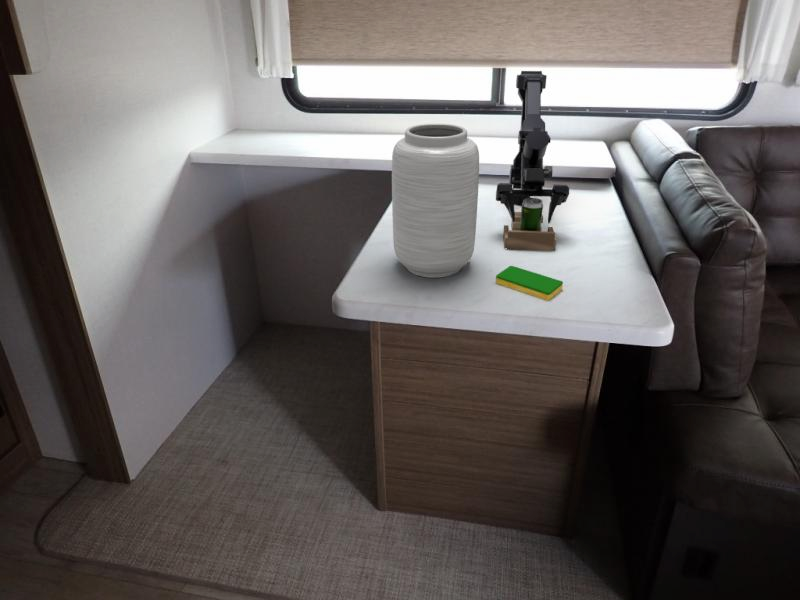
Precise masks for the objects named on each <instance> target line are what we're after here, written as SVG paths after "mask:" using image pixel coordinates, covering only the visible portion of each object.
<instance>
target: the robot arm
mask: <svg viewBox="0 0 800 600" xmlns="http://www.w3.org/2000/svg"><path fill="white" fill-rule="evenodd" d="M547 78H548V77H547V74H544V73H543V72H542V70H521V72H520V74H517V75H516V79H515V81H516V82H515V83H516V84H515V87H516V89H517V95H518V97H519V99H520V100H521V101H520V102H521V103H522V104H521V116H520V117H521V119H520V130H518V135H517V136H518V137H517V144H518V152H517V154H516V155H515V157H514V159H513V162H512V165H510V169H509V179H508V181H509V182H508V183H506V182H499V183H498V184H497V185H496V191H495V201H497V202H500V204H501V205H504V206H505V209H506V210H507V211H508V214H509V217H510V219H511V223H512V222H514V221H515V212H514V211H515V205H519V206H522V203H523V200H524V199H526V198H531V197H547V198H549V197H550V201H549V206H548V213H547V214H548V216H547V224H551V222H552V218H553V214H554V212H555V210H556V207H557V206H561V205H562V204H563V203H567V200H568V197H569V195H570V186H568V185H567V184H557V183H556V184H555V183H554V184H553V186H552V188H551V189H550V188H544V187H545V180H552V179H553V165H545V166H544V157H545V155H546V151H547V148H548V146H549V144H551V137H550V135H549V133H548V131H547V130H546V122H545V120H543V118H542V115H541V112H542V111H541V106H542V103H541V101H542V99H541V97H542V93H543V90H544V89H546V87H547Z"/></svg>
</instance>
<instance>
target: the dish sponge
mask: <svg viewBox="0 0 800 600" xmlns="http://www.w3.org/2000/svg"><path fill="white" fill-rule="evenodd" d="M495 284H497V285H499V286H503V287H506V288H509V289H512V290H516V291H518V292H521V293H525V294H528V295H531V296H532V297H536V298H539V299H542V300H545V301H550V300H551V299H552V298H553V297H555V296H556V295H557V294H559V293H560V292H561V291H562V290H563V284H564V282H563V280H559V279H556V278H553V277H551V276H550V277H549V276H546V275H543V274H541V273H537V272H534V271H530V270H527V269H524V268H520V267H517V266H515V265H509V266H508V267H506V268H505V269H504V270H502V271H500V272H499V273H498V274H496V276H495Z"/></svg>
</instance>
